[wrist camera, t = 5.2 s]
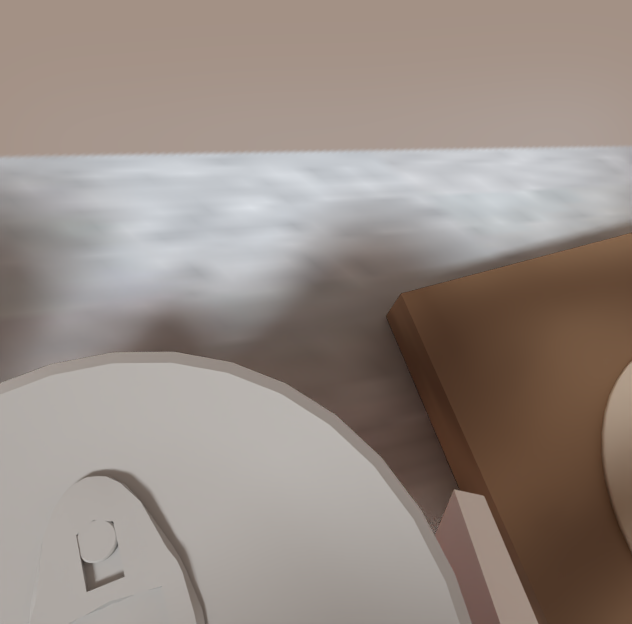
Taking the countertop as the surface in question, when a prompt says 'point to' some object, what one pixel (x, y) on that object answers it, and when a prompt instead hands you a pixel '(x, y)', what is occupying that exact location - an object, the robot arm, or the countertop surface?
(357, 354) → the countertop surface
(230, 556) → the canned food
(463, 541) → the robot arm
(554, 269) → the board
